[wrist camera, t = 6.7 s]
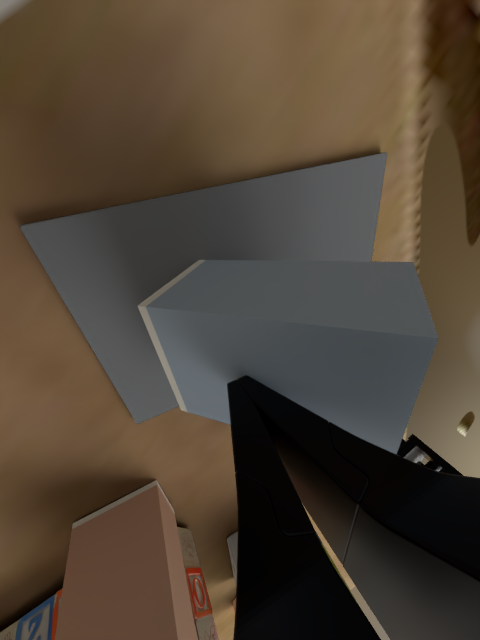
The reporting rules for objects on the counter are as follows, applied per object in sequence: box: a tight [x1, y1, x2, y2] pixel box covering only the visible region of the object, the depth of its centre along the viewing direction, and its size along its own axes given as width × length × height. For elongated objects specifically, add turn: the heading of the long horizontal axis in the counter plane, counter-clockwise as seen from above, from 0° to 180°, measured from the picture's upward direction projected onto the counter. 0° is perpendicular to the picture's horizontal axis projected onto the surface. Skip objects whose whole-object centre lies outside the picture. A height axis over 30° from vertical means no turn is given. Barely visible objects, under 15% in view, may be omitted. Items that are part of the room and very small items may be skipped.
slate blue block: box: [138, 260, 438, 454], centre depth 11 cm, size 4×6×9 cm
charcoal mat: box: [19, 153, 387, 424], centre depth 15 cm, size 18×12×1 cm, turn 99°
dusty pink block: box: [55, 480, 197, 640], centre depth 16 cm, size 4×6×9 cm
